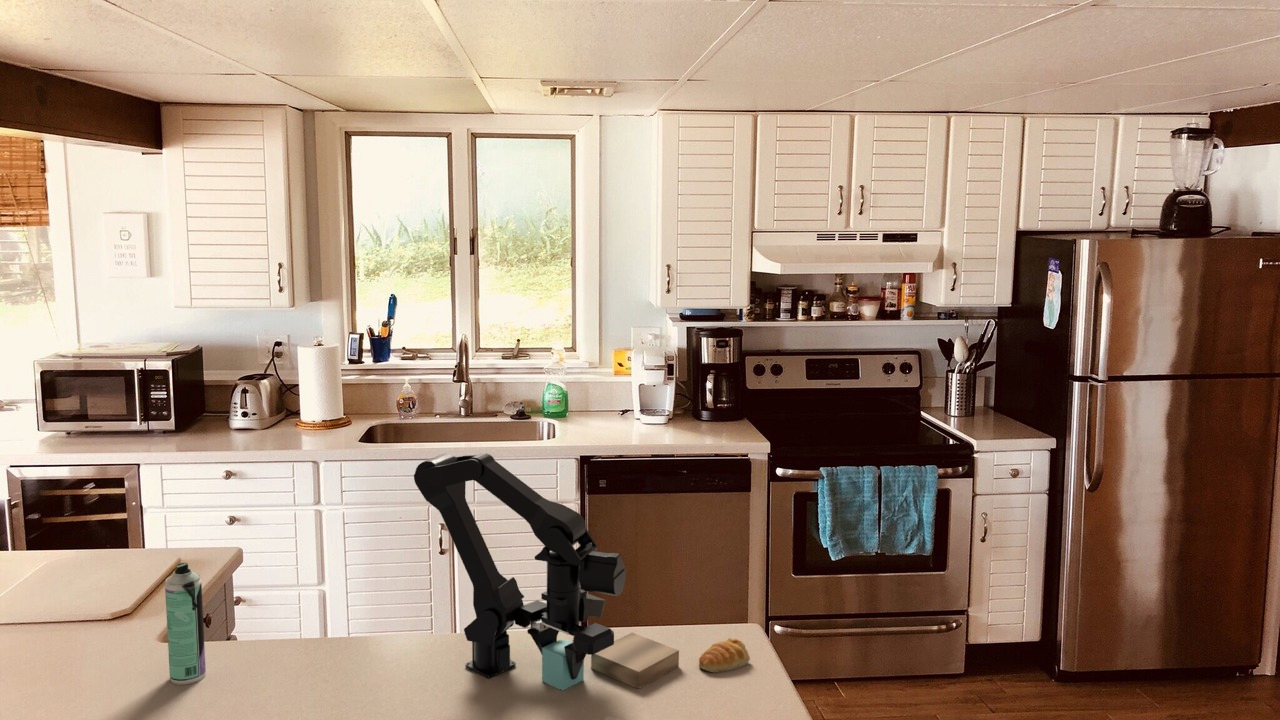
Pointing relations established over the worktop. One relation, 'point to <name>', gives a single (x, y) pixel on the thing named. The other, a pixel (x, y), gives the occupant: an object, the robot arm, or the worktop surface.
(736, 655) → the pastry
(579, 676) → the teal block
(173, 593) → the spray can
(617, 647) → the oak base
